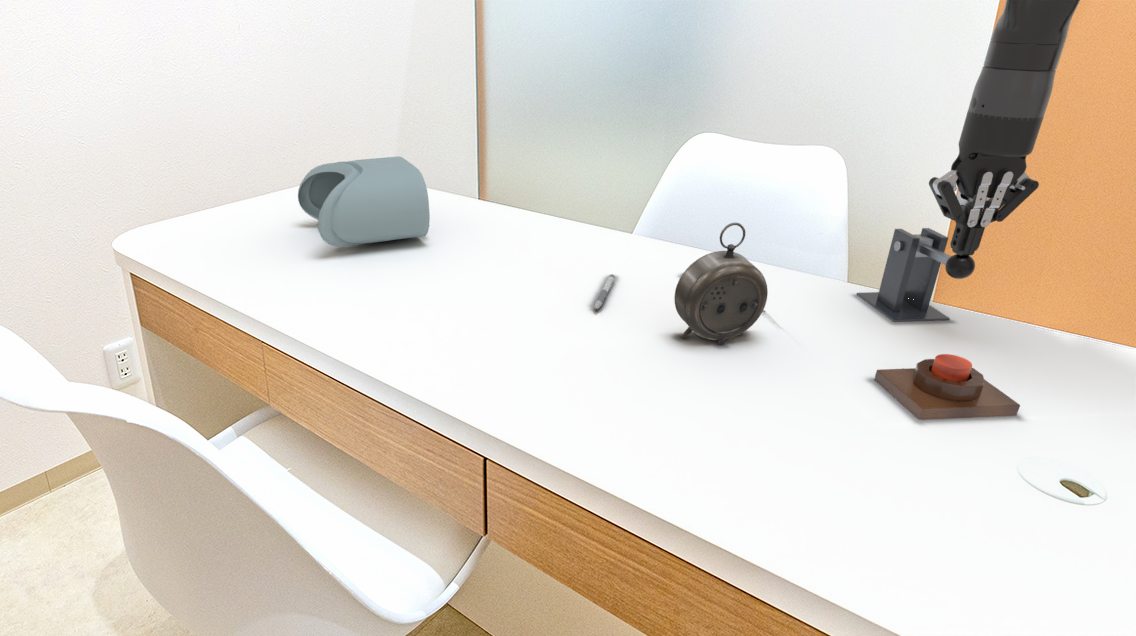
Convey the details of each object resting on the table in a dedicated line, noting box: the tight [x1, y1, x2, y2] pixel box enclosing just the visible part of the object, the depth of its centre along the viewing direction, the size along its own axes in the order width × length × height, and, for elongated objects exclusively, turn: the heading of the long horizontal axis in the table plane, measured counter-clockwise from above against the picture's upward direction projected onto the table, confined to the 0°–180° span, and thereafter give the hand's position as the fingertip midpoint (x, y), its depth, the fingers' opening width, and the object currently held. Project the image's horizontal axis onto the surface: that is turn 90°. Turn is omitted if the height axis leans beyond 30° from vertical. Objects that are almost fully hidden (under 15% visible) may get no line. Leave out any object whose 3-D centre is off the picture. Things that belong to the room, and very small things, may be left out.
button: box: [931, 353, 973, 382], centre depth 82 cm, size 4×4×2 cm
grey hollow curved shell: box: [297, 156, 431, 248], centre depth 134 cm, size 22×19×13 cm
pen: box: [594, 274, 615, 310], centre depth 112 cm, size 1×14×1 cm, turn 162°
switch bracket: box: [856, 227, 951, 323], centre depth 105 cm, size 10×8×12 cm
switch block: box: [873, 358, 1021, 421], centre depth 83 cm, size 11×9×4 cm
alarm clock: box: [674, 222, 768, 347], centre depth 94 cm, size 11×5×16 cm, turn 100°
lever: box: [913, 233, 976, 280], centre depth 99 cm, size 12×3×3 cm, turn 5°
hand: (962, 253), depth 94 cm, fingers closed
